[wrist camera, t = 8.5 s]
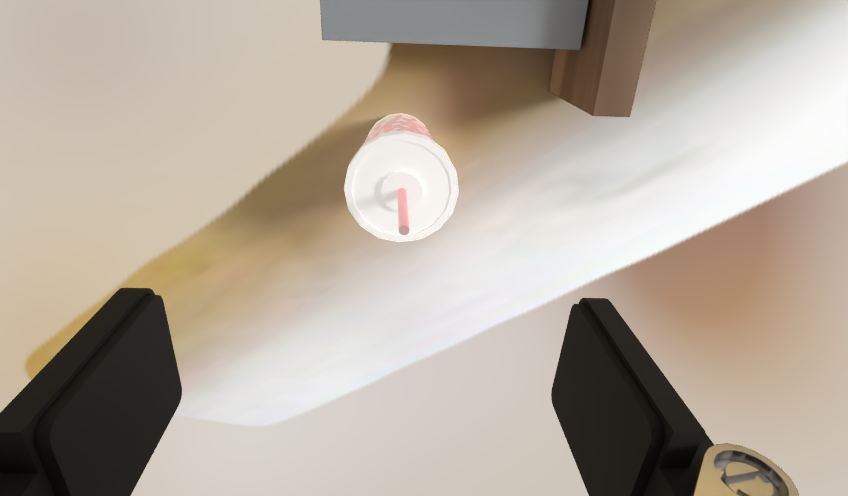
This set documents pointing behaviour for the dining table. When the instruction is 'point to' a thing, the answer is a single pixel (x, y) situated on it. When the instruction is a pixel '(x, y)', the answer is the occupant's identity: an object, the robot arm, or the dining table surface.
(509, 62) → the dining table surface
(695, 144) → the dining table surface
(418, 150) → the beverage cup
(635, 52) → the walnut wall
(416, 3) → the socket block
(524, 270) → the dining table surface
